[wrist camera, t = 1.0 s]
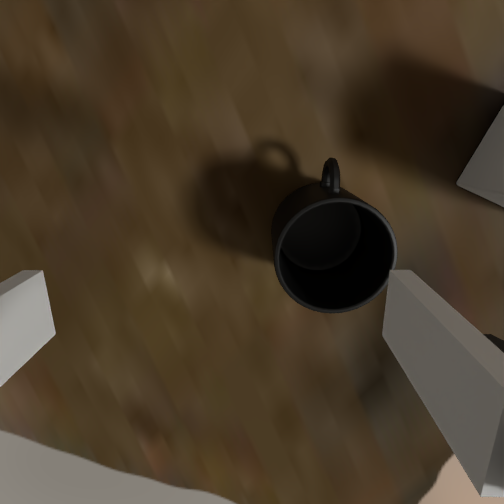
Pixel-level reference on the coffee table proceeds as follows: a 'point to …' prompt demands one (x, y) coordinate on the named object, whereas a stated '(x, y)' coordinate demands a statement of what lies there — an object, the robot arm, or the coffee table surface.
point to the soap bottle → (487, 165)
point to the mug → (331, 246)
